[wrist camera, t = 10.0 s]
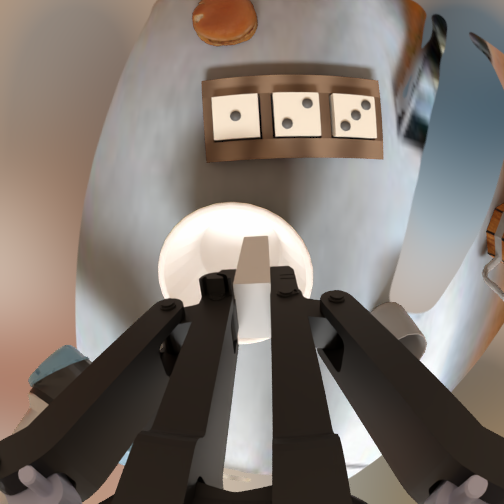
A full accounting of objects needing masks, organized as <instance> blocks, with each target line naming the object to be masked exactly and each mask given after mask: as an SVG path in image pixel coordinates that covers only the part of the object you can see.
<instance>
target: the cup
mask: <svg viewBox="0 0 504 504" xmlns="http://www.w3.org/2000/svg"><path fill="white" fill-rule="evenodd" d="M371 314H372V315H373V316H374V317H375V318H376V319H377V320H378V321H379V322H380V323H381V324H382V325H383V326H385V327H386V328H387V329H388V330H389V331H390V332H391V333H392V334H393V335H394V336H395V337H396V338H397V339H398V340H399V341H400V342H401V343H402V344H403V345H404V346H405V347H406V348H407V349H408V350H409V351H410V352H411V353H412V354H413V355H414V356H415V357H416V358H417V359H418V360H420V359H421V357H422V356H423V354H424V353H425V350H426V345H427V342H426V339H425V337H424V335H423V334H422V333H421V331H420V330H419V328H418V327H417V326H416V324H415V323H414V322H413V320H412V319H411V318H410V316H409V315H408V314H407V312H406V311H405V310H404V308H403V307H402V306H401V305H399V304H397V303H396V302H386V303H384V304H382V305H379V306H377V307H376V308H375V309H374V310H373V311H372V312H371Z"/></svg>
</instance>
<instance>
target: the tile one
mask: <svg viewBox="0 0 504 504" xmlns="http://www.w3.org/2000/svg"><path fill="white" fill-rule="evenodd" d="M211 98H212V115H213V131H214V140H216V141H226V140H239V139H254V138H260V122H259V107H258V95H257V93H254V94H240V95H229V96H219V97H211Z"/></svg>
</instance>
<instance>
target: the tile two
mask: <svg viewBox="0 0 504 504" xmlns="http://www.w3.org/2000/svg"><path fill="white" fill-rule="evenodd" d="M272 104H273V119H274V135H275V137H318V136H321V121H320V107H319V94H318V93H315V92H276V93H273V95H272Z"/></svg>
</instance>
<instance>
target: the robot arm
mask: <svg viewBox="0 0 504 504" xmlns="http://www.w3.org/2000/svg"><path fill="white" fill-rule="evenodd" d="M199 284H200V290H201V296H202V297H201V300H200V302H199V304H196V305H192V306H187V307H184V305H183V302H182V301H181V300H179V299H176V298H168V299H164V300H161V301H159V302H157V303H156V304H155V305H154V306H152V307H151V308H150V309H149V310H148V311H147V312H146V313H145V314H144V315H143V316H141V317H140V318H139V319H138V320H137V321H136V322H135V323H134V324H133V325H132V326H131V327H130V328H128V329H127V330H126V331H125V332H124V333H123V334H122V335H121V336H120V337H119V338H118V339H117V340H116V341H114V342H113V343H112V344H111V345H110V346H109V347H108V348H107V349H106V350H105V351H104V352H103V353H102V354H101V355H100V356H99V357H97V358H96V359H95V360H94V361H93V362H91V361H90V360H89V358H88V357H85V356H84V355H83V354H82V353H80V352H79V351H78V350H77V349H76V348H75V347H73V346H71V345H65V346H62V347H61V348H60V349H58V350H56V351H55V352H54V353H53V354H51V355H50V356H49V357H48V358H47V359H46V360H45V361H44V362H43V363H42V364H41V365H40V366H39V367H38V368H37V369H36V370H35V371H34V372H33V373H32V374H31V376H30V377H29V380H28V382H29V384H30V386H31V387H33V388H32V389H31V391H30V392H29V393H28V398H29V403H30V408H29V409H28V411H27V413H26V414H25V415H24V417H23V418H22V420H21V422H20V423H19V424H18V426H17V427H16V429H15V430H14V432H13V433H12V435H11V436H9V437H7V438H5V439H3V440H1V441H0V504H82V502H84V501H85V500H87V499H88V498H90V496H92V495H93V494H94V493H95V492H96V491H97V490H98V489H99V488H100V487H101V486H102V484H103V483H104V482H105V481H106V480H107V478H108V477H109V475H110V474H111V473H112V471H113V470H114V469H115V467H116V466H117V464H118V463H119V464H122V465H125V466H124V469H123V472H122V475H121V478H120V480H119V483H118V486H117V489H116V492H115V494H114V495H112V496H111V497H109V498H107V499H106V500H104V501H102V502H100V503H99V504H367V503H366V502H364V501H363V500H361V499H359V498H357V497H355V496H353V495H351V493H350V488H349V482H348V476H347V470H346V465H345V459H344V454H343V449H342V444H341V441H340V437H339V436H338V434H334V432H333V430H332V425H331V420H330V415H329V410H328V405H327V400H326V395H325V390H324V385H323V381H322V376H321V371H320V367H319V362H318V358H317V353H316V349H315V348H317V351H318V354H319V355H320V357H321V359H322V360H323V362H324V363H325V365H326V366H327V368H328V370H329V371H330V373H331V374H332V376H333V377H334V379H335V381H336V382H337V384H338V385H339V387H340V389H341V390H342V392H343V393H344V395H345V396H346V398H347V400H348V401H349V403H350V404H351V406H352V407H353V409H354V411H355V412H356V414H357V415H358V417H359V419H360V420H361V422H362V423H363V425H364V426H365V428H366V430H367V431H368V433H369V434H370V436H371V438H372V439H373V441H374V442H375V444H376V445H377V447H378V449H379V450H380V452H381V453H382V455H383V457H384V458H385V460H386V461H387V463H388V464H389V466H390V468H391V469H392V471H393V472H394V474H395V476H396V477H397V479H398V480H399V482H400V483H401V485H402V486H403V488H404V489H405V490H406V492H407V493H408V494H409V495H410V496H411V497H412V498H413V499H414V500H415V501H416V502H417V503H418V504H504V438H503V437H501V436H499V435H498V434H496V433H494V432H492V431H490V430H488V429H486V428H485V427H483V426H482V425H481V424H480V423H479V422H478V421H477V420H476V418H475V417H474V416H473V415H472V414H471V413H470V412H469V411H468V410H467V409H466V408H465V407H464V406H463V405H462V404H461V402H460V401H458V399H457V398H456V397H455V396H454V395H453V394H452V393H451V392H450V391H449V390H448V389H447V388H446V387H445V386H444V385H443V384H442V383H441V382H440V381H439V380H438V379H437V378H436V377H435V376H434V375H433V374H432V373H431V372H430V371H429V370H428V369H427V368H426V367H425V366H424V365H423V364H422V363H421V362H420V361H419V360H418V359H417V358H416V357H415V356H414V355H413V354H412V353H411V352H410V351H409V350H408V349H407V348H406V347H405V346H404V345H403V344H402V343H401V342H400V341H399V340H398V339H397V338H396V337H395V336H394V335H393V334H392V333H391V332H390V331H389V330H388V329H387V328H386V327H385V326H383V325H382V324H381V323H380V322H379V321H378V320H377V319H376V318H375V317H374V316H373V315H372V314H371V313H370V312H369V311H368V310H367V309H365V308H364V307H363V306H362V305H361V304H360V303H359V302H358V301H357V300H356V299H355V298H354V297H353V296H351V295H350V294H348V293H347V292H343V291H340V290H334V291H328V292H325V293H324V294H322V295H321V298H320V300H313V299H308V298H305V297H304V296H303V294H302V292H301V290H300V289H298V285H297V281H296V277H295V273H294V269H293V268H291V267H290V266H273V267H270V261H269V242H268V236H252V237H244V239H243V243H242V247H241V252H240V256H239V260H238V265H237V269H226V270H221V271H220V272H213V273H208V274H205V275H203V276H201V277H200V278H199ZM238 333H239V339H246V338H271V351H272V410H273V440H272V486H267V487H263V488H258V489H253V490H248V491H242V492H230V491H226V490H223V480H222V479H223V468H224V460H225V452H226V444H227V436H228V428H229V420H230V411H231V403H232V395H233V387H234V379H235V371H236V363H237V355H238V347H239V344H238ZM161 344H163V348H162V349H161V350H159V349H160V346H161Z"/></svg>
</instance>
